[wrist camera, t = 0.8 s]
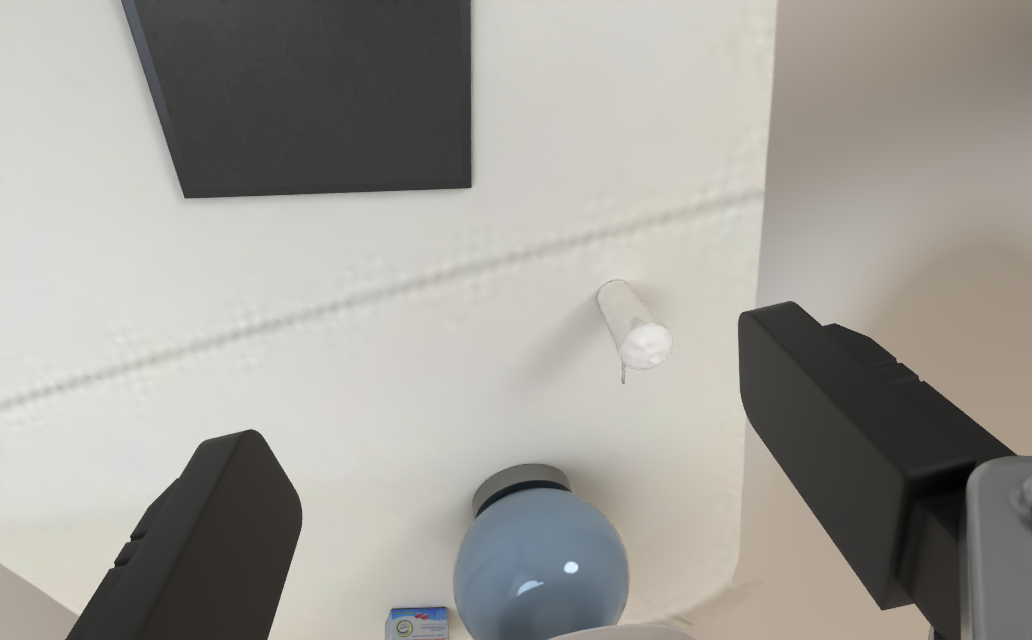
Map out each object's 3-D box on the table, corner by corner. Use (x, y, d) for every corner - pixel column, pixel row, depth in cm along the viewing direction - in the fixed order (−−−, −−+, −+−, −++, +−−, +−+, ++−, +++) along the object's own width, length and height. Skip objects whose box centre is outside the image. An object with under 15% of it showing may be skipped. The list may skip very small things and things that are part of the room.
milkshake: (573, 298, 51) (609, 368, 43) (622, 264, 50) (668, 329, 42) (597, 327, 54) (635, 398, 46) (644, 296, 52) (691, 362, 44)
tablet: (187, 194, 39) (184, 199, 38) (105, -65, 30) (99, -65, 30) (470, 184, 43) (471, 188, 42) (468, -50, 34) (470, -49, 33)
